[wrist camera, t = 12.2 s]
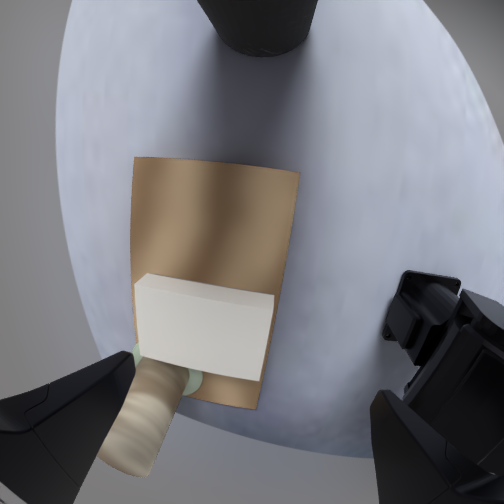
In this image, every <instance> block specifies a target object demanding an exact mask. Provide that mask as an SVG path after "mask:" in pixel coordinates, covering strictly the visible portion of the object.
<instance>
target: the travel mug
mask: <svg viewBox="0 0 504 504" xmlns="http://www.w3.org/2000/svg"><path fill="white" fill-rule="evenodd" d="M197 1H198V3H199V4H200V6H201V7H202V9H203V10H204V12H205V13H206V15H207V16H208V18H209V20H210V21H211V23H212V24H213V26H214V28H215V29H216V31H217V32H218V34H219V36H220V37H221V38H222V40H223V41H224V42H225V43H226V44H227V45H228V46H229V47H231V48H232V49H234V50H236V51H238V52H240V53H243V54H246V55H250V56H258V57H269V56H275V55H280V54H283V53H286V52H288V51H290V50H292V49H294V48H295V47H297V46H298V45H299V44H300V43H301V42H302V41H303V40H304V39H305V37H306V36H307V34H308V32H309V29H310V26H311V23H312V19H313V16H314V12H315V9H316V5H317V1H318V0H197Z"/></svg>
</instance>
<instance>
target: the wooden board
mask: <svg viewBox="0 0 504 504" xmlns="http://www.w3.org/2000/svg"><path fill="white" fill-rule="evenodd" d="M299 177H300V173H299V172H293V171H286V170H280V169H273V168H265V167H258V166H250V165H242V164H233V163H223V162H213V161H202V160H189V159H174V158H154V157H134V167H133V180H132V197H131V229H130V253H131V285H132V302H133V315H134V326H135V336H136V345H135V347H134V349H133V351H132V354H133V355H134V361H135V367H136V366H137V365H138V363H139V362H140V360H141V359H142V357H143V356H141V355H140V349H139V340H138V330H137V319H136V306H135V289H134V284H135V283H136V282H137V281H138V280H140V279H141V278H142V277H143V276H144V275H145V274H147V273H149V274H159V275H164V276H170V277H175V278H180V279H186V280H191V281H197V282H202V283H208V284H214V285H220V286H226V287H232V288H238V289H244V290H250V291H256V292H263V293H269V294H274V308H273V314H272V320H271V325H270V330H269V335H268V340H267V345H266V350H265V355H264V360H263V365H262V370H261V375H260V380H259V381H254V380H248V379H241V378H235V377H230V376H224V375H219V374H214V373H209V372H204V371H200V370H195V369H191V368H188V370H189V374H190V377H189V380H188V383H187V385H186V388H185V390H184V392H183V395H182V396H187V397H192V398H196V399H200V400H205V401H209V402H214V403H219V404H225V405H230V406H236V407H242V408H248V409H255V410H256V407H257V402H258V398H259V394H260V389H261V385H262V380H263V376H264V371H265V366H266V362H267V357H268V352H269V347H270V342H271V338H272V333H273V328H274V323H275V318H276V312H277V307H278V302H279V297H280V291H281V286H282V281H283V275H284V269H285V264H286V258H287V252H288V247H289V241H290V235H291V229H292V223H293V216H294V210H295V204H296V197H297V191H298V184H299Z"/></svg>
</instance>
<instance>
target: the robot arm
mask: <svg viewBox="0 0 504 504" xmlns="http://www.w3.org/2000/svg"><path fill="white" fill-rule="evenodd" d="M408 275H410V277H409V278H408V279H407V276H408ZM456 283H457V284H456ZM455 284H456V285H455ZM460 286H461V281H460V280H459V279H458V278H454V277H448V276H441V275H435V274H429V273H423V272H417V271H411V270H407V271H405V272H404V273H403V275H402V279H401V282H400V285H399V288H398V291H397V294H396V295H395V296H394V299H393V302H392V305H391V308H390V311H389V314H388V316H387V319H386V322H387V323H386V326H385V328H384V331H383V334H382V335H383V338H384V339H385V340H388V341H398V343H399V344H400V346H401V348H402V349H405V350H406V351H407V353H408V355H409V357H410V358H411V360H412V362H413V364H414V365H415V366H421V367H420V368H419V370H418V371H417V373H416V374H415V376H414V377H413V378H412V380H411V381H410V382H408V383H407V385H406V386H405V388H404V396H403V399H402V400H401V399H399V398H398V397H397V396H396V395H395V394H394V393H393V392H392V391H390V390H380V391H378V393H377V395H376V396H375V398H374V400H373V402H372V404H371V406H370V419H371V440H372V449H373V456H374V463H375V470H376V478H377V486H378V495H379V504H504V306H503V305H501V304H500V303H498V302H497V301H494V300H492V299H489V298H487V297H484V296H481V295H479V294H476V293H474V292H471V291H468V290H466V289H462V291H461V293H460V295H459V296H460V298H459V297H458V296H457V294H458V291H459V289H460ZM389 333H390V334H389ZM387 334H389V335H388V336H386V335H387ZM135 373H136V367H135V361H134V355H133V354H132V353H130V352H127V351H120V352H118V353H116V354H114V355H112V356H109V357H107V358H105V359H103V360H101V361H99V362H97V363H94V364H92V365H90V366H87V367H85V368H83V369H81V370H78V371H77V372H74V373H72V374H70V375H67V376H65V377H63V378H60V379H58V380H56V381H53V382H51V383H50V384H46V385H44V386H41V387H39V388H36V389H34V390H31V391H28V392H25V393H22V394H19V395H15V396H12V397H8V398H4V399H1V400H0V504H73V503H74V500H75V498H76V496H77V494H78V492H79V490H80V487H81V486H82V483H83V482H84V479H85V477H86V475H87V473H88V471H89V469H90V467H91V465H92V463H93V461H94V460H95V458H96V456H97V454H98V452H99V450H100V448H101V446H102V444H103V442H104V440H105V438H106V436H107V435H108V433H109V431H110V429H111V427H112V425H113V423H114V421H115V420H116V418H117V416H118V414H119V412H120V410H121V408H122V406H123V404H124V402H125V399H126V396H127V394H128V391H129V389H130V386H131V384H132V381H133V379H134V377H135Z"/></svg>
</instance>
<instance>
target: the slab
mask: <svg viewBox="0 0 504 504" xmlns="http://www.w3.org/2000/svg"><path fill="white" fill-rule="evenodd" d="M134 289H135V306H136V319H137V330H138V340H139V349H140V355H141V356H144V357H148V358H151V359H155V360H159V361H162V362H166V363H170V364H174V365H178V366H182V367H186V368H191V369H195V370H200V371H204V372H209V373H214V374H219V375H224V376H230V377H235V378H241V379H248V380H254V381H259V380H260V375H261V370H262V365H263V360H264V355H265V350H266V345H267V340H268V335H269V330H270V325H271V320H272V314H273V308H274V294H269V293H263V292H256V291H250V290H244V289H238V288H232V287H226V286H220V285H214V284H208V283H202V282H197V281H191V280H186V279H180V278H175V277H170V276H164V275H159V274H149V273H147V274H145V275H144V276H143V277H142V278H141V279H140V280H138V281H137V282H136V283H135V284H134Z"/></svg>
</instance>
